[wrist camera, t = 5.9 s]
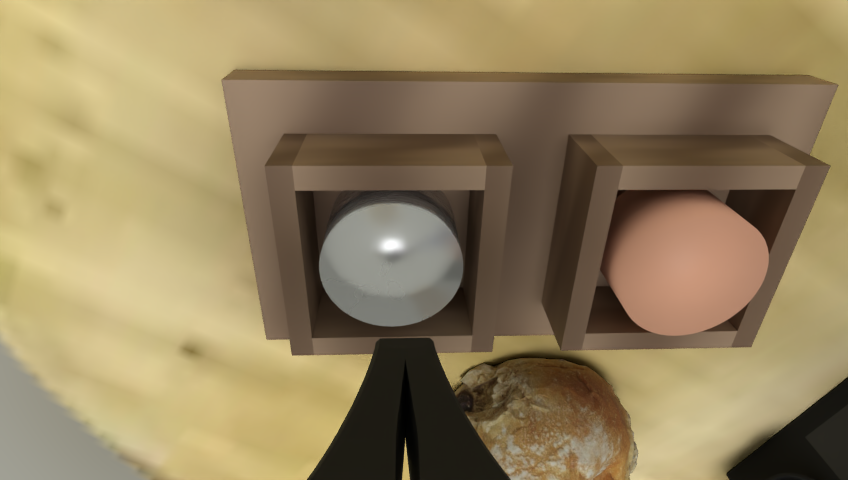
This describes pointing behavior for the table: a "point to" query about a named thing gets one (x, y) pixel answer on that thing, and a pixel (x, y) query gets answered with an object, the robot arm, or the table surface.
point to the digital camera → (805, 445)
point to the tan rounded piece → (681, 260)
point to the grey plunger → (391, 255)
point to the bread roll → (549, 420)
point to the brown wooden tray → (514, 188)
